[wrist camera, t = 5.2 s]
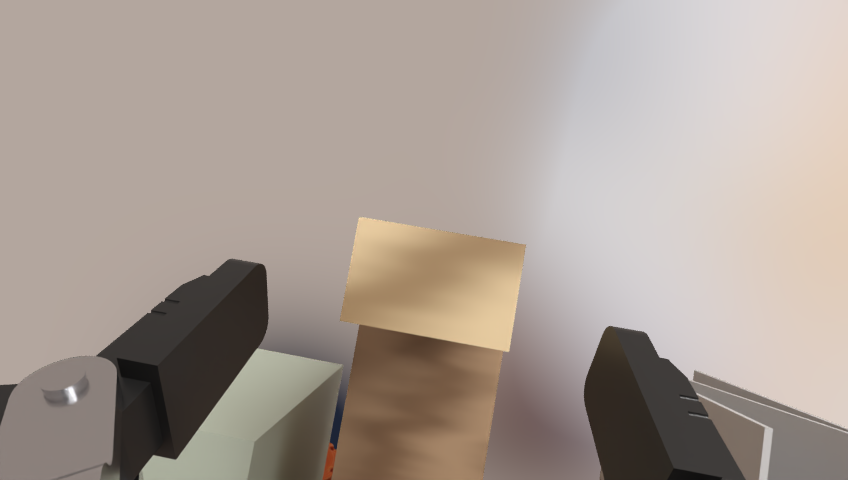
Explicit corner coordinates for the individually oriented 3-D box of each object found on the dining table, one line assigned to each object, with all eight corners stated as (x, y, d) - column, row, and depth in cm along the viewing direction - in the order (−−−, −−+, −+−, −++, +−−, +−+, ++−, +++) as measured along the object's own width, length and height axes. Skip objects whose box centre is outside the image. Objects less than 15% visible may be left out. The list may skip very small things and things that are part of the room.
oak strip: (464, 295, 38) (469, 266, 38) (509, 351, 10) (525, 244, 10) (418, 287, 38) (423, 259, 38) (339, 321, 10) (358, 217, 10)
